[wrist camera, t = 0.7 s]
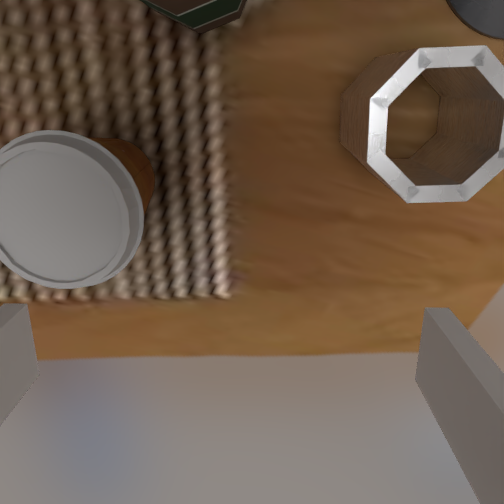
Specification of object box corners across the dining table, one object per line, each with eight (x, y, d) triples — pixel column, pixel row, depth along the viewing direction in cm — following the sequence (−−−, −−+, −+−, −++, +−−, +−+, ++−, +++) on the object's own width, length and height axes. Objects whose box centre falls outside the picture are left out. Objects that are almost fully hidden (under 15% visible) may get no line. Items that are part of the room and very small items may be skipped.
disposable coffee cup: (198, 170, 37) (172, 209, 26) (130, 256, 40) (79, 325, 29) (98, 89, 35) (22, 93, 24) (34, 185, 38) (-62, 229, 27)
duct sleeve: (341, 58, 34) (372, 49, 25) (458, 54, 34) (533, 43, 25) (338, 173, 37) (365, 204, 28) (445, 169, 37) (509, 199, 27)
